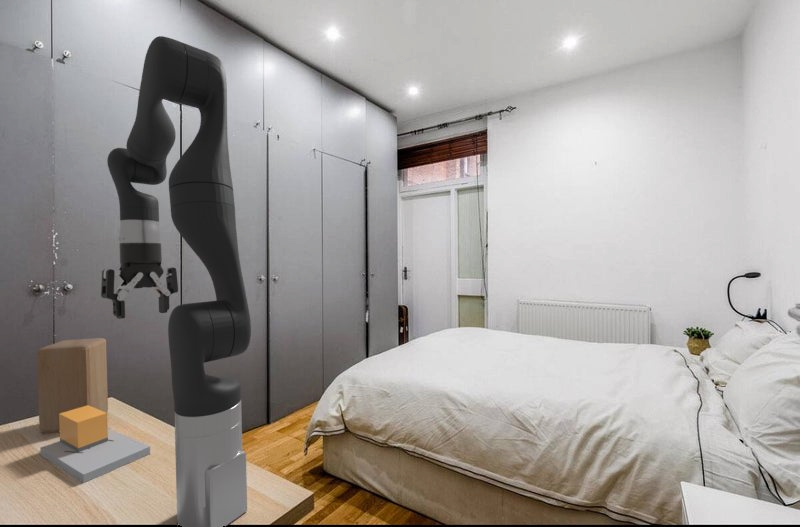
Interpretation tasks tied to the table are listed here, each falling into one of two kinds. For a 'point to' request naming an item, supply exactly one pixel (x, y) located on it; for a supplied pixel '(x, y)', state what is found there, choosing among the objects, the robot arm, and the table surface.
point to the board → (96, 456)
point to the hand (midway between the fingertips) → (143, 315)
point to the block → (71, 379)
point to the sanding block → (83, 428)
